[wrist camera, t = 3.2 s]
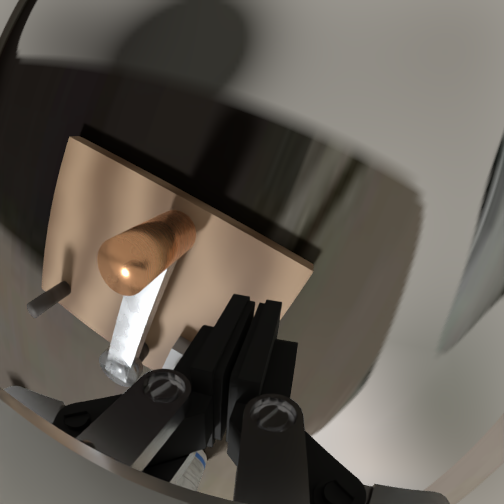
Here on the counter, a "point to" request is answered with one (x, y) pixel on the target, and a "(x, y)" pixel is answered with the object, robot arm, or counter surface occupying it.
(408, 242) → the counter surface
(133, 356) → the lever
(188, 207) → the board
